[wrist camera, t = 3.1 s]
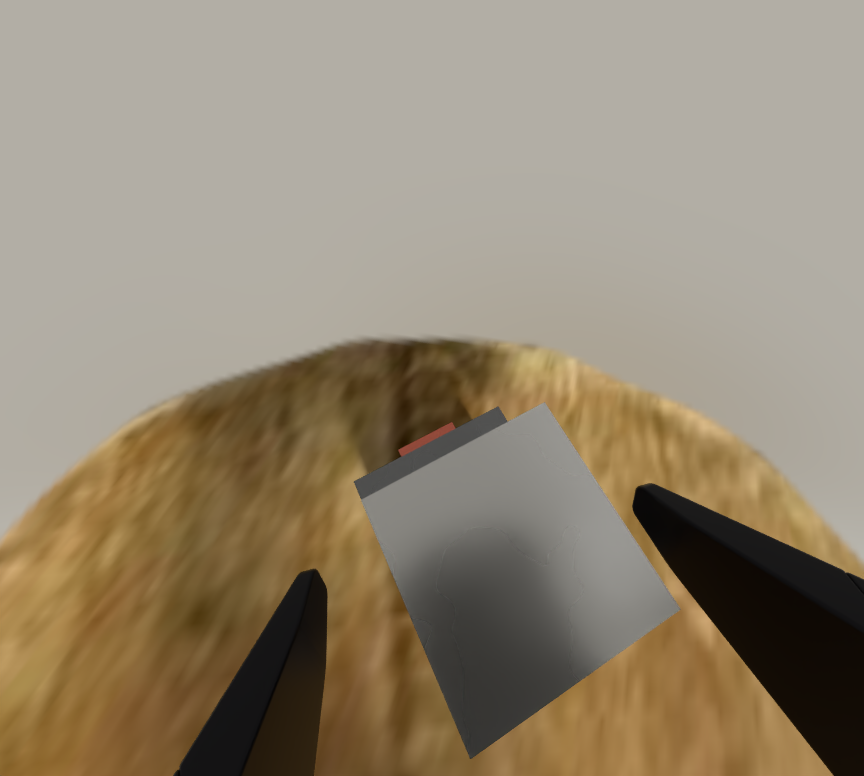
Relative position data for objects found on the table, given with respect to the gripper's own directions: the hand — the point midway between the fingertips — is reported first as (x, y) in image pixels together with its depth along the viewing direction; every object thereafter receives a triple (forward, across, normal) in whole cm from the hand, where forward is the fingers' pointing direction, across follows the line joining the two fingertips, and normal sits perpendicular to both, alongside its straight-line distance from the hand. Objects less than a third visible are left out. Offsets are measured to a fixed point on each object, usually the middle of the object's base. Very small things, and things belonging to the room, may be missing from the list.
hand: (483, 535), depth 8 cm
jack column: (+5, 0, +5) cm, 8 cm away
